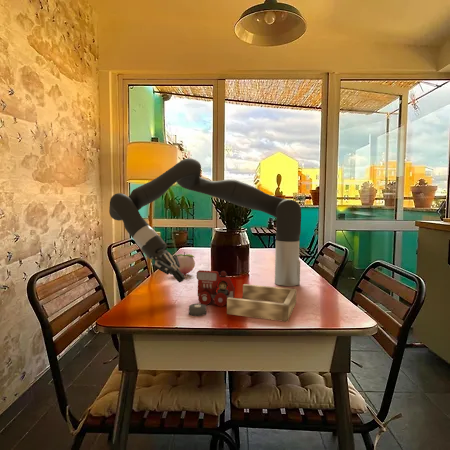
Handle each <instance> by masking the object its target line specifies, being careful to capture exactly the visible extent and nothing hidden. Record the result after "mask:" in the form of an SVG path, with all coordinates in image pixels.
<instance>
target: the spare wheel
mask: <svg viewBox="0 0 450 450" xmlns="http://www.w3.org/2000/svg"><path fill="white" fill-rule="evenodd" d="M188 314H189V316H190V315H191V316H193V317H203V316H205V315H207V305H204V304H201V303H194V304H189V306H188Z"/></svg>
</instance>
